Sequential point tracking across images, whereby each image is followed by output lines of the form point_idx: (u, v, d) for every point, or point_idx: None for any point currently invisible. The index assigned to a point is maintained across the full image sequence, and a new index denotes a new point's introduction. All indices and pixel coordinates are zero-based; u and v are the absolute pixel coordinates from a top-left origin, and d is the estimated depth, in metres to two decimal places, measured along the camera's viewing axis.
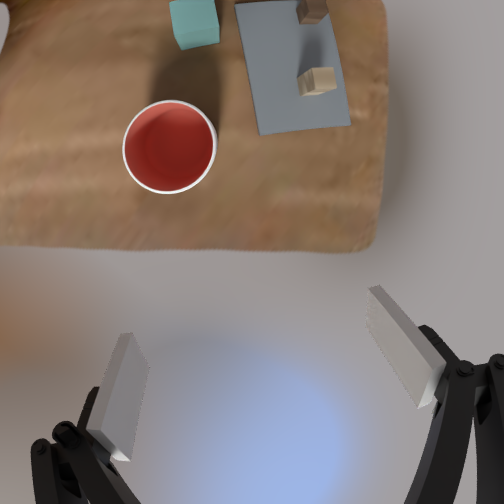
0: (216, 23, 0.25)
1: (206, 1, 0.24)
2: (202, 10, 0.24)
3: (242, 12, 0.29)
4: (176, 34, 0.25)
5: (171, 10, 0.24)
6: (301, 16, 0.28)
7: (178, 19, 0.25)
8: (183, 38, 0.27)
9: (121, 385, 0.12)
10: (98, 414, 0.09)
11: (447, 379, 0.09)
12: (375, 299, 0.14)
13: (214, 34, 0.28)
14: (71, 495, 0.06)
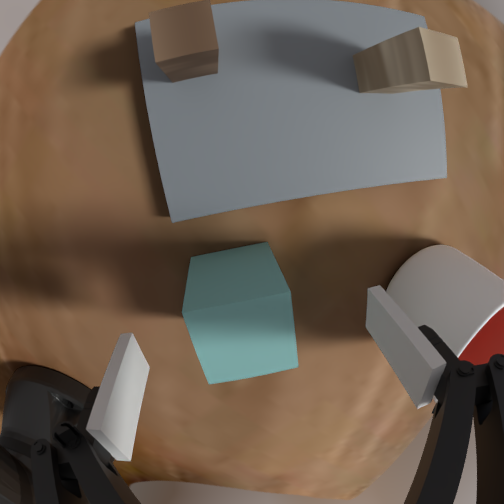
0: (280, 297, 0.14)
1: (209, 323, 0.14)
2: (238, 328, 0.14)
3: (194, 204, 0.17)
4: (295, 363, 0.16)
5: (232, 379, 0.15)
6: (206, 68, 0.12)
7: (258, 366, 0.15)
8: None
9: (121, 385, 0.12)
10: (98, 414, 0.09)
11: (447, 379, 0.09)
12: (375, 300, 0.14)
13: None
14: (71, 495, 0.06)
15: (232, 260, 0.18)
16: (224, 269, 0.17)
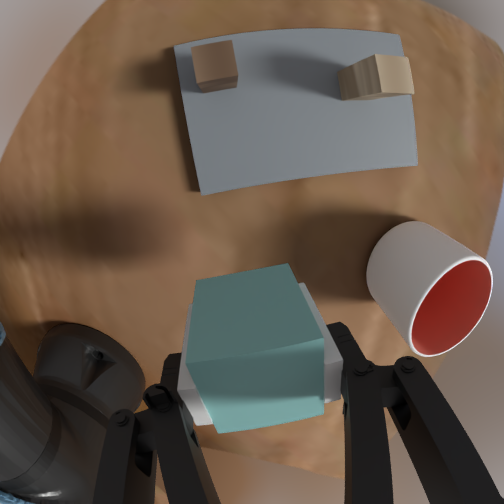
0: (311, 345, 0.10)
1: (220, 375, 0.11)
2: (255, 380, 0.11)
3: (218, 182, 0.23)
4: (321, 411, 0.12)
5: (246, 428, 0.12)
6: (228, 85, 0.19)
7: (278, 416, 0.12)
8: None
9: None
10: (188, 375, 0.11)
11: (346, 381, 0.10)
12: None
13: None
14: (140, 473, 0.08)
15: (247, 287, 0.15)
16: (237, 301, 0.14)
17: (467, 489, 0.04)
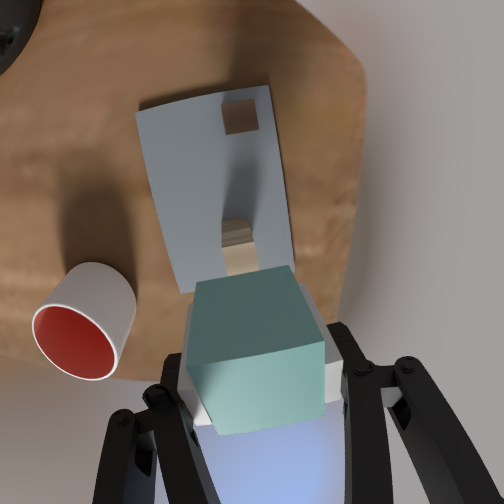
0: (311, 348, 0.10)
1: (220, 378, 0.10)
2: (256, 383, 0.11)
3: (145, 125, 0.25)
4: (321, 413, 0.12)
5: (246, 430, 0.12)
6: None
7: (278, 418, 0.12)
8: None
9: None
10: (188, 375, 0.11)
11: (346, 381, 0.10)
12: None
13: None
14: (140, 473, 0.08)
15: (247, 289, 0.15)
16: (238, 303, 0.14)
17: (467, 489, 0.04)
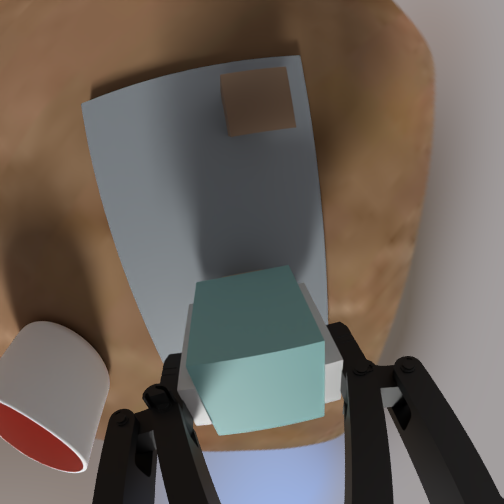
0: (311, 348, 0.10)
1: (220, 378, 0.10)
2: (256, 383, 0.11)
3: (96, 123, 0.14)
4: (321, 413, 0.12)
5: (246, 430, 0.12)
6: None
7: (278, 418, 0.12)
8: None
9: None
10: (188, 375, 0.11)
11: (346, 381, 0.10)
12: None
13: None
14: (140, 473, 0.08)
15: (247, 289, 0.15)
16: (238, 303, 0.14)
17: (467, 489, 0.04)
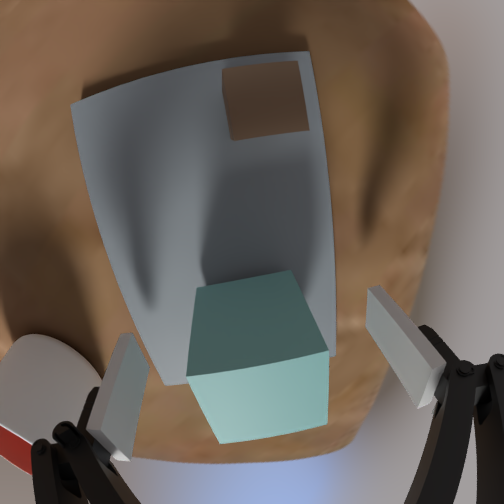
0: (315, 358, 0.10)
1: (222, 388, 0.10)
2: (258, 393, 0.10)
3: (86, 126, 0.13)
4: (324, 421, 0.12)
5: (248, 439, 0.12)
6: (229, 126, 0.12)
7: (280, 427, 0.11)
8: None
9: (121, 385, 0.12)
10: (98, 414, 0.09)
11: (447, 379, 0.09)
12: (375, 299, 0.14)
13: None
14: (71, 495, 0.06)
15: (249, 295, 0.14)
16: (239, 310, 0.13)
17: None
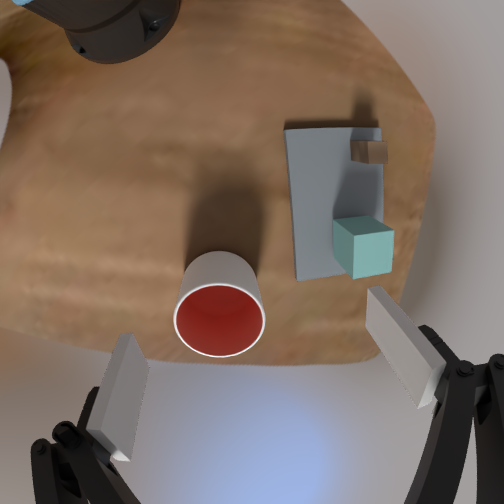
0: (390, 232, 0.30)
1: (363, 242, 0.30)
2: (373, 246, 0.31)
3: (293, 142, 0.33)
4: (390, 269, 0.32)
5: (363, 276, 0.32)
6: (356, 156, 0.33)
7: (376, 268, 0.32)
8: None
9: (121, 385, 0.12)
10: (98, 414, 0.09)
11: (447, 379, 0.09)
12: (375, 300, 0.14)
13: None
14: (71, 495, 0.06)
15: (358, 220, 0.34)
16: (357, 223, 0.33)
17: None
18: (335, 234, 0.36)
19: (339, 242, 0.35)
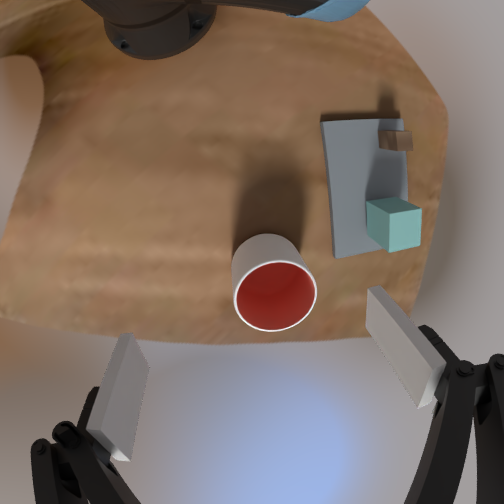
0: (418, 210, 0.33)
1: (397, 219, 0.33)
2: (405, 222, 0.33)
3: (330, 132, 0.36)
4: (419, 243, 0.35)
5: (397, 249, 0.35)
6: (384, 144, 0.35)
7: (407, 243, 0.35)
8: None
9: (121, 385, 0.12)
10: (98, 414, 0.09)
11: (447, 379, 0.09)
12: (375, 300, 0.14)
13: None
14: (71, 495, 0.06)
15: (388, 201, 0.37)
16: (389, 204, 0.36)
17: None
18: (369, 214, 0.39)
19: (373, 221, 0.38)
